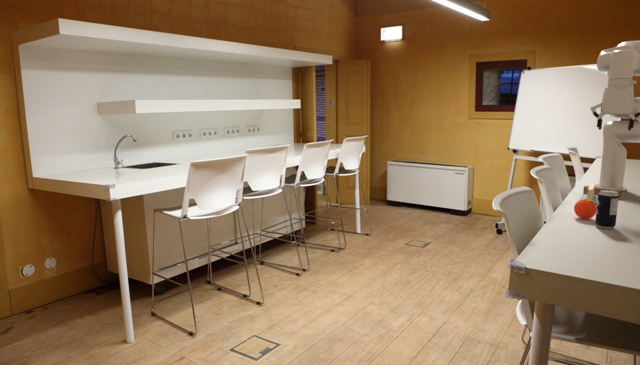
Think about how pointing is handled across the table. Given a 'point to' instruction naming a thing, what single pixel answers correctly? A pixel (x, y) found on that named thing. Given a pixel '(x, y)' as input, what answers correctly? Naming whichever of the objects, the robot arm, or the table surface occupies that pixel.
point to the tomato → (585, 208)
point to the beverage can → (607, 209)
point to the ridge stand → (590, 194)
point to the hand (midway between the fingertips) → (614, 129)
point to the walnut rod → (597, 189)
